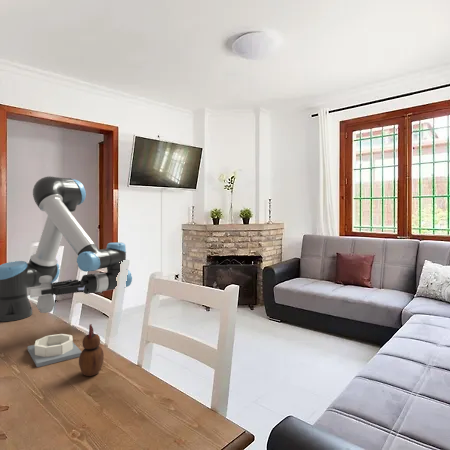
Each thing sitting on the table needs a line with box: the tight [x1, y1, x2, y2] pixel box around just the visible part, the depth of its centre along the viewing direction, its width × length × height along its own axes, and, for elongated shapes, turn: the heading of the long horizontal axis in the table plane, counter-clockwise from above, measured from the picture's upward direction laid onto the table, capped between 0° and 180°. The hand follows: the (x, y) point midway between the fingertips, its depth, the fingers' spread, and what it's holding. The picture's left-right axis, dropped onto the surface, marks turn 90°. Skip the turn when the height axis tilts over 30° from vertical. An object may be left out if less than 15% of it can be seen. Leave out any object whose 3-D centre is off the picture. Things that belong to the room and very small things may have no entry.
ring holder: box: [34, 333, 74, 357], centre depth 112 cm, size 11×11×3 cm
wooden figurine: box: [78, 323, 105, 377], centre depth 98 cm, size 7×6×15 cm
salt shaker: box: [36, 275, 56, 314], centre depth 124 cm, size 6×6×13 cm
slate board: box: [26, 342, 83, 368], centre depth 112 cm, size 16×13×1 cm
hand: (28, 292), depth 120 cm, fingers closed on salt shaker, 3 cm apart
